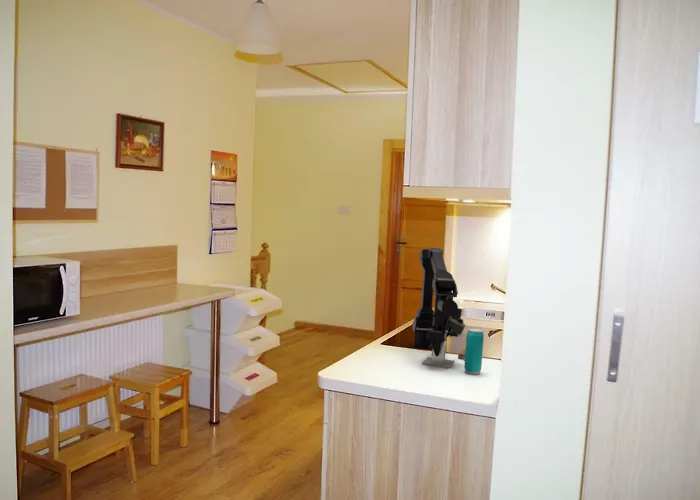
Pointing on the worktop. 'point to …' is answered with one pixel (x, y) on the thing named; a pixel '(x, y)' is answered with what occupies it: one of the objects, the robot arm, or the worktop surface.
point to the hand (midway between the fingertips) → (438, 353)
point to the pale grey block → (440, 354)
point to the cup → (456, 317)
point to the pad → (445, 365)
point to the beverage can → (474, 351)
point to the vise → (460, 354)
